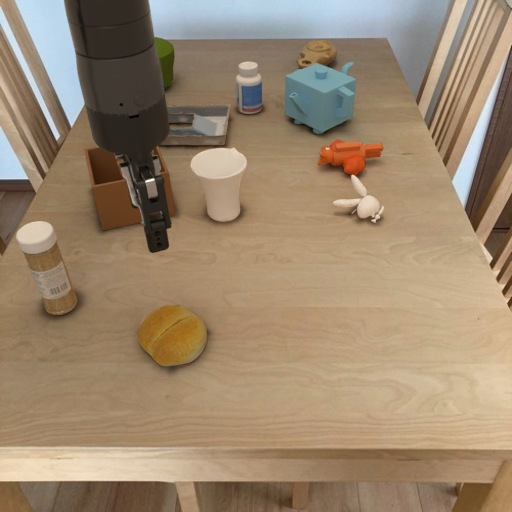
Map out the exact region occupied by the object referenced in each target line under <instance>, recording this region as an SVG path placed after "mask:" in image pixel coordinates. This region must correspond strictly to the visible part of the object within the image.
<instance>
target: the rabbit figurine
mask: <svg viewBox="0 0 512 512" xmlns="http://www.w3.org/2000/svg"><path fill="white" fill-rule="evenodd" d="M350 181H351V185H352V187H353V189H354V191H356V192H357V194H359V196H361V197H362V198H361V197H359V198H351V199H349V198H347V199H345V198H339V199H336V200H333V201H332V206H334V207H336V208H343V209H345V208H353V207H356V206H357V207H356V208H355V209H354V210H353V211H352V212H351V215H353V214H355V213H357V216H358V217H359V218H360V219H366V218H368V217H371V218H373V219H370V220H371V222H372V223H374V224H376V223H377V220H379V219H381V215H382V214H383V212H384V210H385V207H384V205H381V203H380V201H379V200H378V199H377V198H376V197H375V196H373V195H370V194H368V189H367V188H366V187H365V185H364V184H363V182H362V181H361V180H360V179H359V177H357V175H350Z"/></svg>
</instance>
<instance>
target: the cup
mask: <svg viewBox="0 0 512 512" xmlns="http://www.w3.org/2000/svg"><path fill="white" fill-rule="evenodd" d="M247 167H248V161H247V158H246V156H245V155H244V154H243V153H241V152H239V151H238V150H237V149H236V147H231V148H226V147H216V148H208V149H205V150H203V151H201V152H199V153H197V154H196V155H194V156H193V157H192V159H191V160H190V170H191V172H192V174H193V175H194V177H195V178H196V179H197V181H198V183H199V185H200V187H201V190H202V193H203V196H204V199H205V204H206V213H207V215H208V216H209V217H210V218H211V219H212V220H214V221H216V222H222V223H224V222H230V221H233V220H235V219H236V218H238V216H239V215H240V213H241V203H240V187H241V184H242V179H243V175H244V174H245V171H246V169H247Z"/></svg>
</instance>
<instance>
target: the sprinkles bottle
mask: <svg viewBox="0 0 512 512" xmlns="http://www.w3.org/2000/svg"><path fill="white" fill-rule="evenodd" d="M15 240H16V242H17V245H18V247H19V249H20V250H21V252H22V253H23V255H24V258H25V260H26V262H27V266H28V269H29V271H30V274H31V276H32V279H33V281H34V283H35V286H36V289H37V291H38V293H39V295H40V297H41V300H42V302H43V304H44V309H45V311H46V312H47V313H48V314H49V315H53V316H62V315H65V314H67V313H69V312H72V310H74V309H75V308H76V306H77V304H78V301H79V300H78V299H79V298H78V295H76V292H75V290H74V287H73V284H72V279H71V276H70V274H69V270H68V268H67V265H66V263H65V261H64V258H63V255H62V252H61V250H60V247H59V244H58V237H57V233H56V231H55V229H54V226H52V224H51V223H50V222H48V221H43V220H37V221H32V222H28V223H26V224H24V225H23V226H22V227H20V228H19V229H18V230H17V232H16V234H15Z"/></svg>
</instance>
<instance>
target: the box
mask: <svg viewBox="0 0 512 512" xmlns="http://www.w3.org/2000/svg"><path fill="white" fill-rule="evenodd" d="M83 151H84V157H85V160H86V166H87V171H88V177H89V181H90V186H91V190H92V194H93V197H94V198H93V199H94V201H95V205H96V210H97V213H98V217H99V221H100V224H101V228H102V231H107V230H111V229H116V228H117V229H118V228H121V227H126V226H130V225H135V224H139V223H140V224H141V216H140V213H139V209H138V208H137V209H134V208H133V207H132V205H131V202H130V198H129V193H128V188H127V184H126V181H125V180H124V179H123V178H122V175H121V174H120V171H119V168H118V165H117V162H116V159H115V155H114V153H111V152H107V151H105V150H103V149H101V148H100V147H99V146H93V147H87V148H84V149H83ZM154 155H158V158H159V161H160V165H161V170H160V175H162V178H164V181H165V183H164V187H165V192H166V198H167V204H168V210H169V216H170V217H173V216H176V211H175V205H174V198H173V190H172V184H171V177H170V171H169V169H168V166H167V164H166V162H165V159H164V156H163V154H162V151H161V149H160V145H158V146H157V147H156V148H155V149H154ZM155 213H159V212H155ZM155 213H151V214H155ZM151 214H150V215H151Z"/></svg>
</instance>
